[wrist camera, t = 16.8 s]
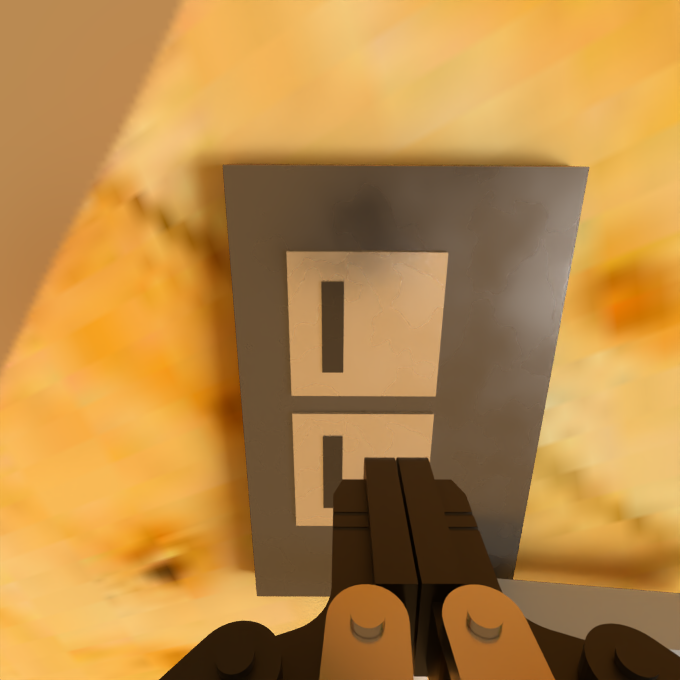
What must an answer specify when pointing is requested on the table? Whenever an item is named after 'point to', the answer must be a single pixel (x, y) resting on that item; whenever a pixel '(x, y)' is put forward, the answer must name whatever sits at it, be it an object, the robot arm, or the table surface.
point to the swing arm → (596, 609)
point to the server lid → (393, 339)
